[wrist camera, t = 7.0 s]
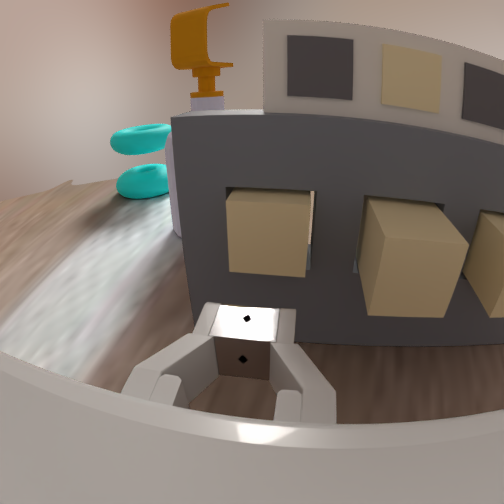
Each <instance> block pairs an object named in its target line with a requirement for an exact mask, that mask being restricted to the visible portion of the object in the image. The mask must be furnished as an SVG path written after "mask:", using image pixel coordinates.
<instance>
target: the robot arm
mask: <svg viewBox="0 0 504 504" xmlns="http://www.w3.org/2000/svg"><path fill="white" fill-rule="evenodd" d="M295 322H296V309H285V308H281V309H278V308H263V307H251V306H241V305H232V304H223V303H222V304H221V303H213V302H207V303H206V304H205V305H204V307H203V309H202V312H201V314H200V316H199V319H198V321H197V323H196V326H195V328H194V330H193V333H192V334H190V333H188V334H186V335H184V336H183V337H181V338H180V339H178V340H176V341H175V342H173V343H172V344H170V345H168V346H167V347H165V348H164V349H162V350H160V351H159V352H157V353H156V354H154V355H152V356H151V357H149V358H147V359H146V360H144V361H143V362H141V363H139V364H138V365H136V366H134V368H133V370H132V372H131V374H130V376H129V378H128V380H127V381H126V383H125V385H124V387H123V389H122V391H121V393H116V392H113V391H109V390H106V389H102V388H99V387H96V386H92V385H89V384H86V383H83V382H80V381H77V380H73V379H70V378H68V377H65V376H62V375H59V374H56V373H53V372H51V371H48V370H45V369H43V368H40V367H37V366H35V365H32V364H30V363H27V362H25V361H22V360H20V359H17V358H15V357H13V356H10V355H8V354H6V353H4V352H1V351H0V504H504V409H502V410H497V411H492V412H486V413H481V414H474V415H468V416H461V417H454V418H446V419H437V420H427V421H415V422H401V423H380V424H336V391H335V390H334V388H333V387H332V386H331V385H330V383H329V382H328V381H327V380H326V378H325V377H324V376H323V375H322V373H321V372H320V371H319V370H318V368H317V367H316V366H315V365H314V363H313V362H312V361H311V359H310V358H309V357H308V356H307V354H306V353H305V352H304V351H303V349H302V348H301V347H300V346H299V344H294V336H295ZM219 375H224V376H235V377H245V378H253V379H261V380H269V382H270V384H271V386H272V388H273V389H274V391H275V393H276V395H277V400H276V407H275V414H274V420H262V419H253V418H244V417H236V416H229V415H222V414H215V413H209V412H203V411H197V410H191V409H190V408H189V403H190V402H191V401H192V400H193V399H194V398H196V397H197V396H198V395H199V394H200V393H201V392H202V391H203V390H204V389H205V388H207V387H208V386H209V385H210V384H211V383H212V382H213V381H214V380H215V379H216V378H217V377H218V376H219Z"/></svg>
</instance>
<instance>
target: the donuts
mask: <svg viewBox="0 0 504 504" xmlns="http://www.w3.org/2000/svg"><path fill="white" fill-rule="evenodd" d="M170 132H171V126H170V125H167V124H150V125H142V126H136V127H131V128H127V129H123V130H120V131H118V132H116V133H115V134H113V136H112V137H111V140H110V144H111V147H112V148H113V150H115V151H116V152H118V153H121V154H124V155H139V154H146V153H151V152H155V151H158V150H161V149H164V148H165V143H166V140H167V137H168V134H169V133H170ZM116 187H117V191H118V192H119V193H120V194H121V195H122V196H124V197H127V198H132V199H142V198H150V197H155V196H159V195H162V194H165V193H167V192H169V187H168V178H167V168H166V165H164V164H146V165H141V166H137V167H134V168H131V169H129V170H127V171H126V172H124V173H123V174H122V175H121V176H120V177H119V178H118V180H117V184H116Z"/></svg>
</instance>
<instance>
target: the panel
mask: <svg viewBox="0 0 504 504" xmlns="http://www.w3.org/2000/svg"><path fill="white" fill-rule="evenodd" d="M263 97H264V98H263V99H264V100H263V101H264V102H263V110H206V111H190V112H186V113H183V114H180V115H177V116H173V117H171V131H172V145H173V157H174V169H175V180H176V190H177V200H178V209H179V218H180V227H181V235H182V243H183V251H184V259H185V266H186V273H187V280H188V287H189V294H190V301H191V307H192V313H193V320H194V326H196V323H197V321H198V319H199V316H200V314H201V312H202V309H203V307H204V305H205V304H206V303H207V302H213V303H221V304H222V303H223V304H232V305H241V306H251V307H263V308H278V309H281V308H285V309H296V322H295V336H294V342H307V343H323V344H341V345H365V346H465V345H487V344H503V343H504V317H502V318H489V316H488V314H487V312H486V310H485V309H484V307H483V305H482V303H481V302H480V300H479V298H478V296H477V295H476V293H475V291H474V290H473V288H472V286H471V285H470V283H469V281H468V280H467V278H466V277H465V275H464V273H463V272H462V270H463V267H464V264H465V261H466V258H467V255H468V252H469V248H470V245H471V242H472V238H473V235H474V231H475V227H476V224H477V220H478V216H479V212H480V209H483V210H490V211H496V212H502V213H504V61H503V60H501V59H498V58H495V57H493V56H490V55H487V54H484V53H481V52H478V51H475V50H472V49H469V48H466V47H462V46H459V45H456V44H453V43H449V42H445V41H442V40H438V39H434V38H429V37H426V36H421V35H417V34H412V33H408V32H403V31H397V30H392V29H386V28H379V27H373V26H366V25H359V24H350V23H341V22H329V21H314V20H263ZM235 187H249V188H272V189H291V190H307V191H314V206H313V220H312V233H311V244H308V249H307V261H306V272H305V277H292V276H278V275H265V274H252V273H240V272H229V254H228V235H227V215H226V200H227V198H228V197H229V195H230V194H231V192H232V191H233V189H234V188H235ZM364 195H370V196H381V197H391V198H400V199H409V200H418V201H426V202H434V203H435V204H436V206H437V207H438V208H439V209H440V210H441V211H442V212H443V214H444V215H445V216H446V217H447V218H448V219H449V221H450V222H451V223H452V224H453V225H454V227H455V228H456V229H457V230H458V231H459V233H460V234H461V235H462V236H463V238H464V239H465V240H466V241H467V243H468V244H469V247H468V250H467V254H466V257H465V260H464V263H463V266H462V269H461V272H460V275H459V278H458V281H457V284H456V286H455V289H454V292H453V295H452V297H451V300H450V302H449V305H448V308H447V310H446V313H445V315H444V317H443V318H434V317H395V316H370V315H368V314H367V308H366V303H365V298H364V293H363V288H362V283H361V278H360V273H359V269H358V264H357V260H356V249H357V243H358V236H359V230H360V223H361V216H362V208H363V200H364Z"/></svg>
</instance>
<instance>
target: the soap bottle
mask: <svg viewBox="0 0 504 504" xmlns="http://www.w3.org/2000/svg"><path fill="white" fill-rule="evenodd" d="M226 6H229V3H224V4H218V5H212V6H207V7H203V8H198V9H194V10H190V11H186V12H182V13H178V14H176V15H175V16H174V17H173V18H172V20H171V26H170V28H171V60H172V65H173V66H174V67H175V68H176V69H179V70H184V69H192V74H193V77H198V89H199V92H193V93H190V95H191V111H206V110H224V96H223V91H215V76H220V68H224V67H233V63H222V62H211V61H210V59H209V57H208V53H207V16H208V13H209V11H211V10H212V9H216V8H221V7H226ZM165 156H166V168H167V178H168V187H169V196H170V205H171V214H172V222H173V229H174V231H175V232H176V233H177V235H178V236H179V237H181V238H182V235H181V227H180V218H179V209H178V200H177V190H176V180H175V169H174V157H173V145H172V131H171V132H170V133H169V134H168V137H167V140H166V143H165Z"/></svg>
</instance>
